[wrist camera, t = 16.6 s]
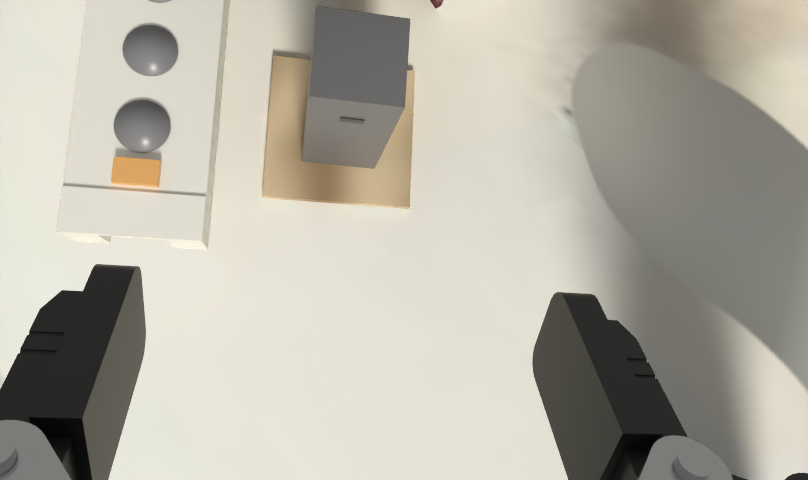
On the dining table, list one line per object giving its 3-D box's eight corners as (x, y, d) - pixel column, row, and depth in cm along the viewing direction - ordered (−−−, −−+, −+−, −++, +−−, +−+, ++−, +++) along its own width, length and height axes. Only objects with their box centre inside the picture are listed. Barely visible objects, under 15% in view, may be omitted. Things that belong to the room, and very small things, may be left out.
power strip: (232, -36, 45) (228, -70, 41) (207, 249, 41) (201, 239, 38) (109, -52, 43) (94, -88, 40) (73, 241, 40) (53, 230, 37)
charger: (380, 70, 45) (412, -20, 34) (374, 169, 44) (405, 108, 33) (309, 62, 44) (319, -33, 33) (301, 162, 43) (308, 97, 32)
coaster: (413, 73, 46) (414, 70, 45) (407, 208, 44) (409, 207, 44) (273, 58, 44) (273, 55, 44) (262, 197, 43) (262, 195, 42)
